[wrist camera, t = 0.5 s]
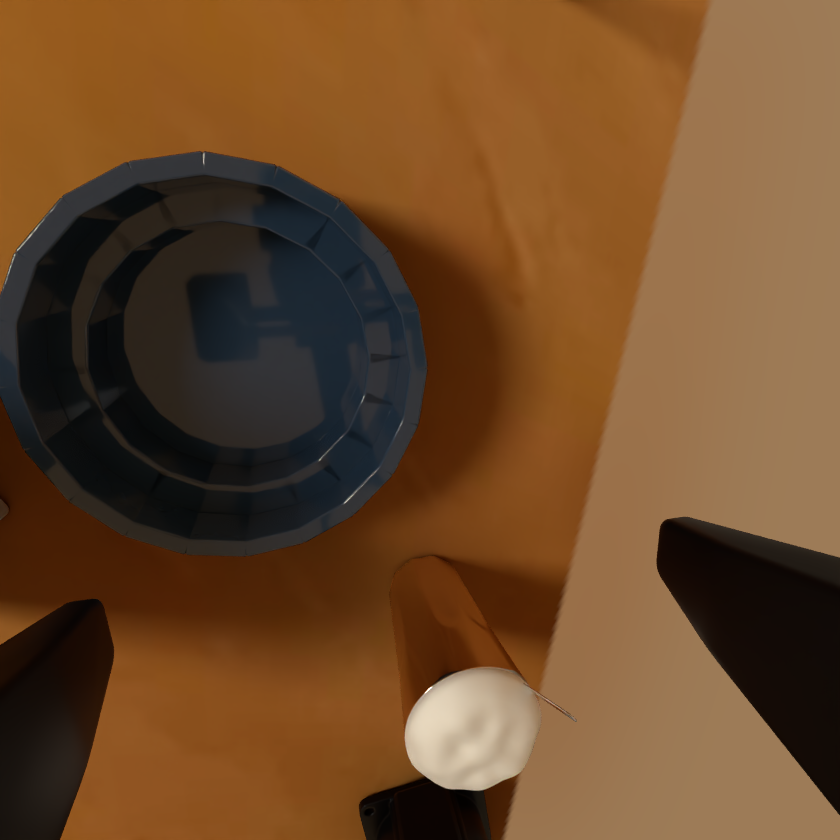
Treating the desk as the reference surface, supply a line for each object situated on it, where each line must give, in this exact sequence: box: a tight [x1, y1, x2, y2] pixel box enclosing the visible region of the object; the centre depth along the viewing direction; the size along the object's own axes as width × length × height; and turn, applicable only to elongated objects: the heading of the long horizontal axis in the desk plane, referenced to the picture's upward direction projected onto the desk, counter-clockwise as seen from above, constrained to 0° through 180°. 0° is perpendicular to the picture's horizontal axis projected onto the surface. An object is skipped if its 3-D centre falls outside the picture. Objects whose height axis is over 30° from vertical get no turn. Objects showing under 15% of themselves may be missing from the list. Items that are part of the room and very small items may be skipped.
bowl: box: [0, 151, 428, 557], centre depth 19 cm, size 12×12×4 cm
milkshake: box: [389, 556, 577, 791], centre depth 21 cm, size 5×5×10 cm
